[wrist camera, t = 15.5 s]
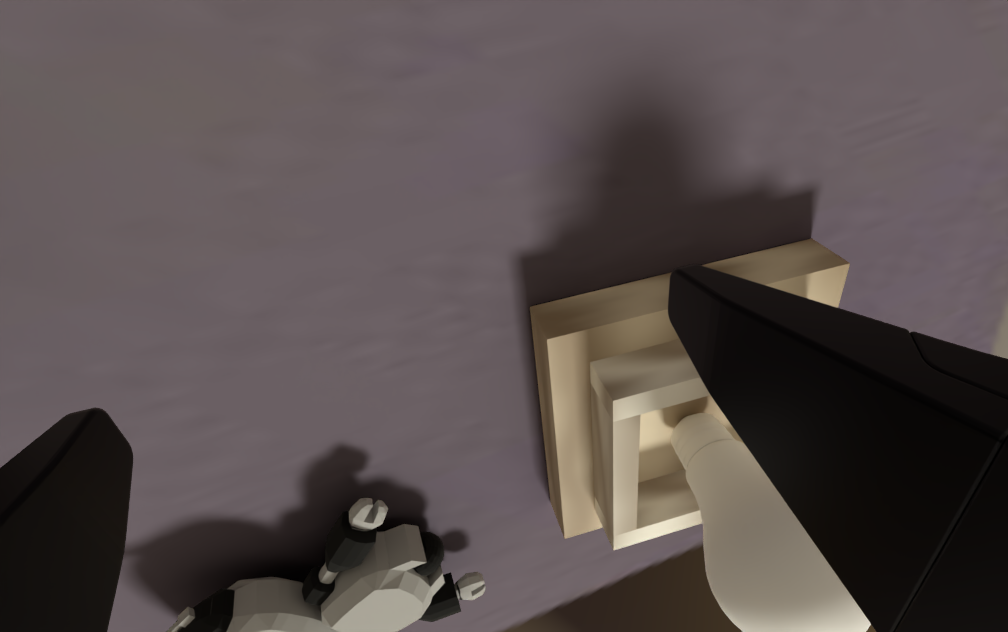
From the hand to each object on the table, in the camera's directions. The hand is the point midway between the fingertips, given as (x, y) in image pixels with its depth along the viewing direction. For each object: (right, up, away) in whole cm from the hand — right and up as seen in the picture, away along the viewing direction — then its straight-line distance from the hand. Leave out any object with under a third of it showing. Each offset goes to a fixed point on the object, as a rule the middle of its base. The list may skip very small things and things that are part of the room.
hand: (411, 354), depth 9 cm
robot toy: (-9, -14, +24) cm, 29 cm away
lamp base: (+10, -3, +21) cm, 24 cm away
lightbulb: (+10, -4, +20) cm, 23 cm away
